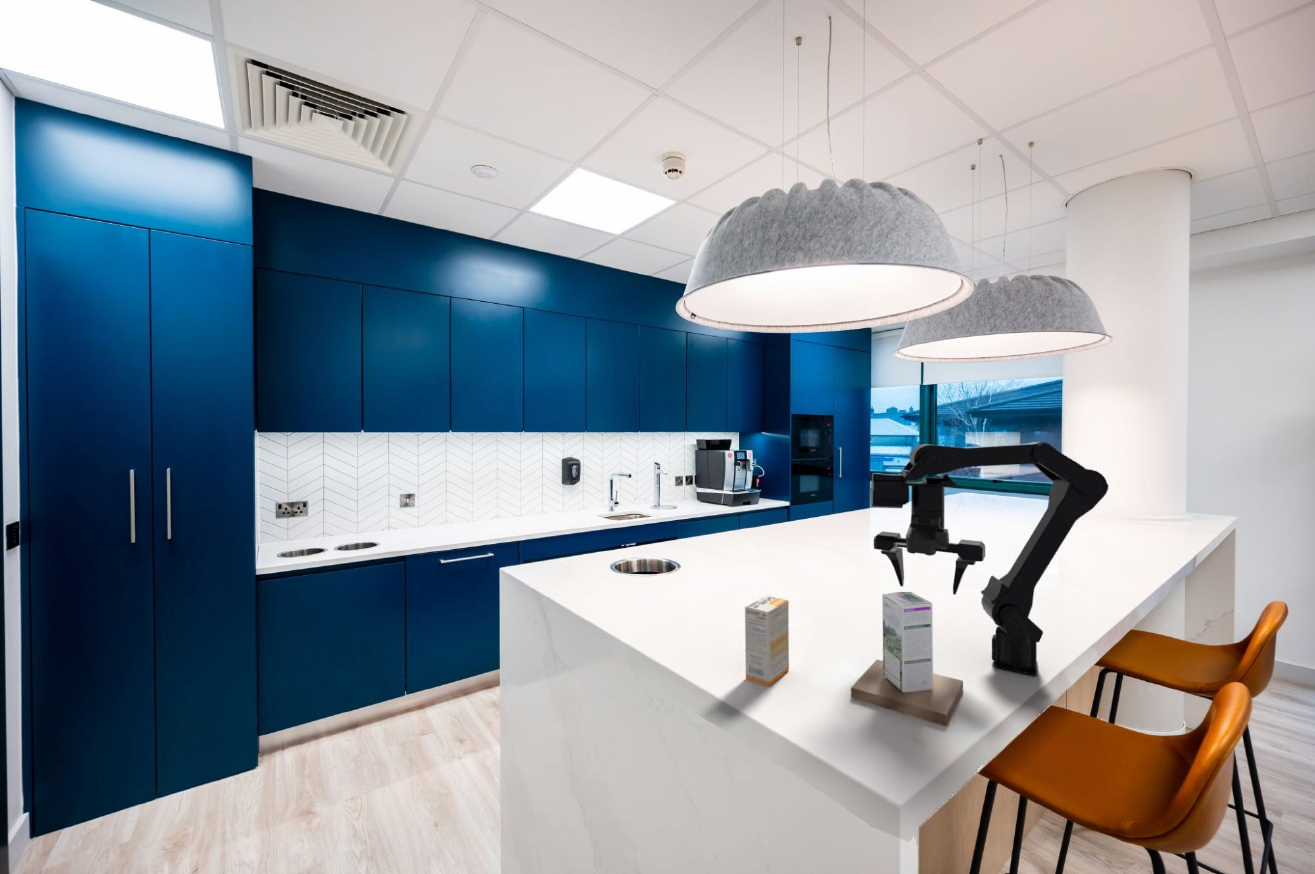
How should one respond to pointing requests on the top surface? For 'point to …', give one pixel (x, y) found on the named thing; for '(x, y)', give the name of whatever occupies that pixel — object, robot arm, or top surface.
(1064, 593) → the top surface
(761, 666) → the supplement box
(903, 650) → the syrup box
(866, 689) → the walnut block
